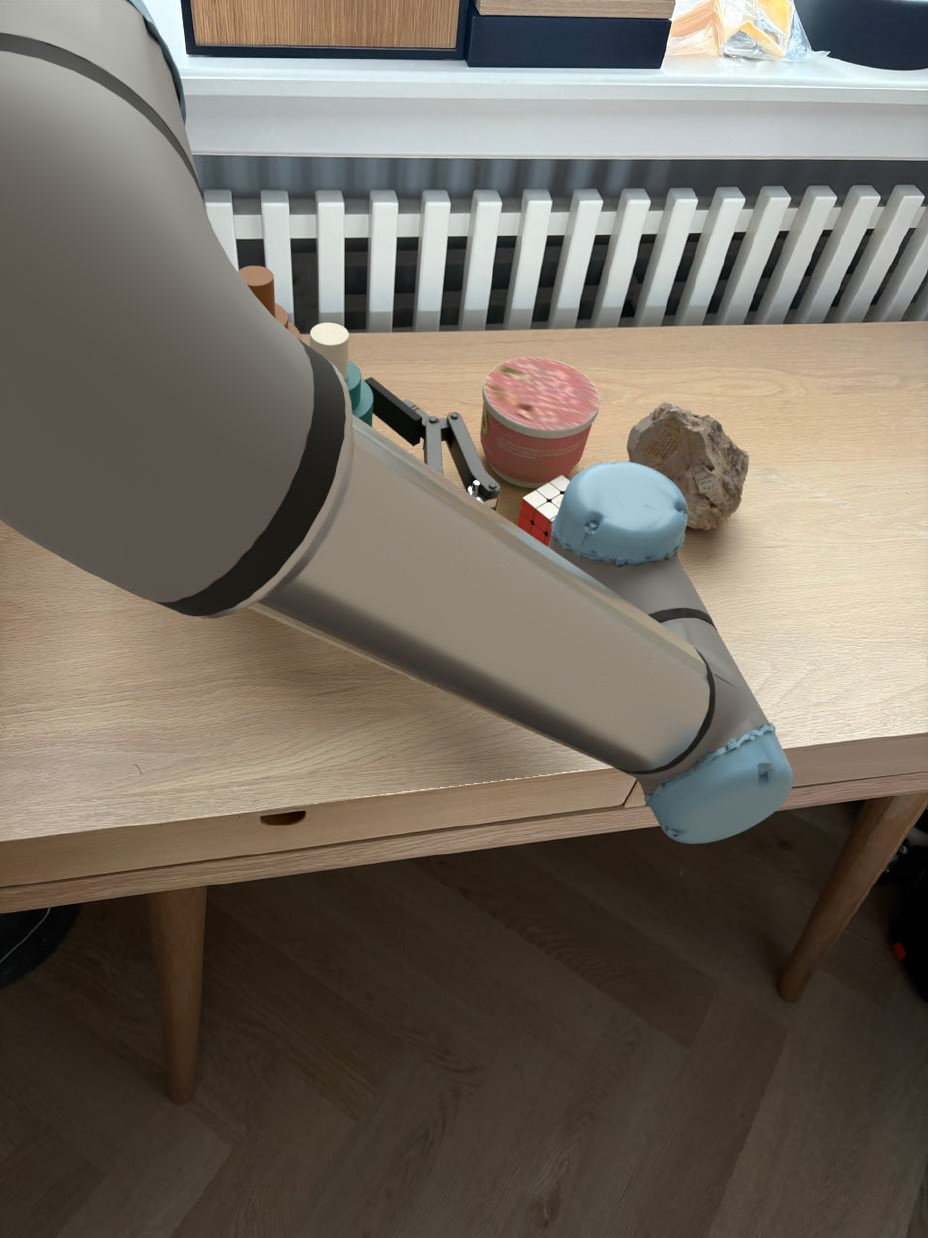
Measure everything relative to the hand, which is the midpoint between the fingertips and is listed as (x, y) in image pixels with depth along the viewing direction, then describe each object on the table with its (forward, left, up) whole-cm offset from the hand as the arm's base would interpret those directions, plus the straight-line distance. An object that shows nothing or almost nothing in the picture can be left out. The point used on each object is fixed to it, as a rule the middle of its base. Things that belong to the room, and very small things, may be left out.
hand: (302, 421), depth 84 cm
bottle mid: (0, +6, -8) cm, 10 cm away
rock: (+27, -21, -9) cm, 36 cm away
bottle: (0, -3, -8) cm, 9 cm away
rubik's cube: (+14, -17, -9) cm, 24 cm away
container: (+20, -8, -9) cm, 23 cm away
